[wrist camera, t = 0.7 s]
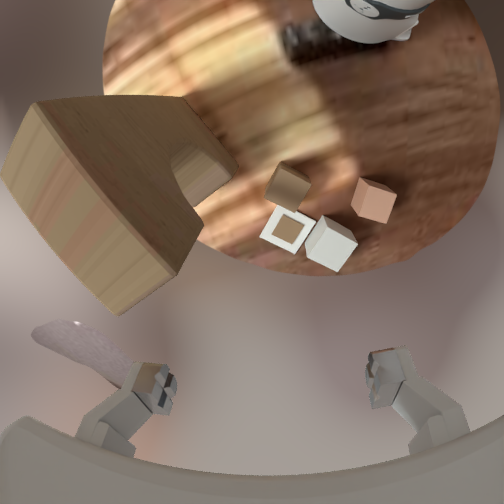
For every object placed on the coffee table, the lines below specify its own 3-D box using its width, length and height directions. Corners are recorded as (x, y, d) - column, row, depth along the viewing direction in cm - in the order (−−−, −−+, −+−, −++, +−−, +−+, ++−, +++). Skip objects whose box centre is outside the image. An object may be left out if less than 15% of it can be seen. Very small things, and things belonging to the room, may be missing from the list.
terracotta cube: (359, 176, 41) (369, 185, 36) (385, 185, 41) (397, 194, 37) (350, 204, 43) (358, 215, 39) (376, 211, 43) (386, 223, 39)
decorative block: (240, 166, 42) (179, 276, 16) (204, 193, 44) (116, 320, 18) (181, 95, 36) (34, 99, 10) (148, 126, 39) (-2, 178, 13)
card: (279, 201, 44) (279, 203, 43) (315, 220, 45) (316, 222, 45) (259, 235, 47) (259, 237, 47) (294, 252, 48) (295, 254, 48)
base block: (322, 214, 45) (327, 227, 40) (350, 230, 46) (358, 244, 41) (304, 242, 48) (307, 257, 43) (332, 256, 48) (337, 272, 44)
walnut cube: (279, 161, 41) (280, 168, 37) (307, 176, 42) (311, 184, 37) (265, 188, 43) (264, 198, 39) (292, 202, 44) (294, 213, 40)
